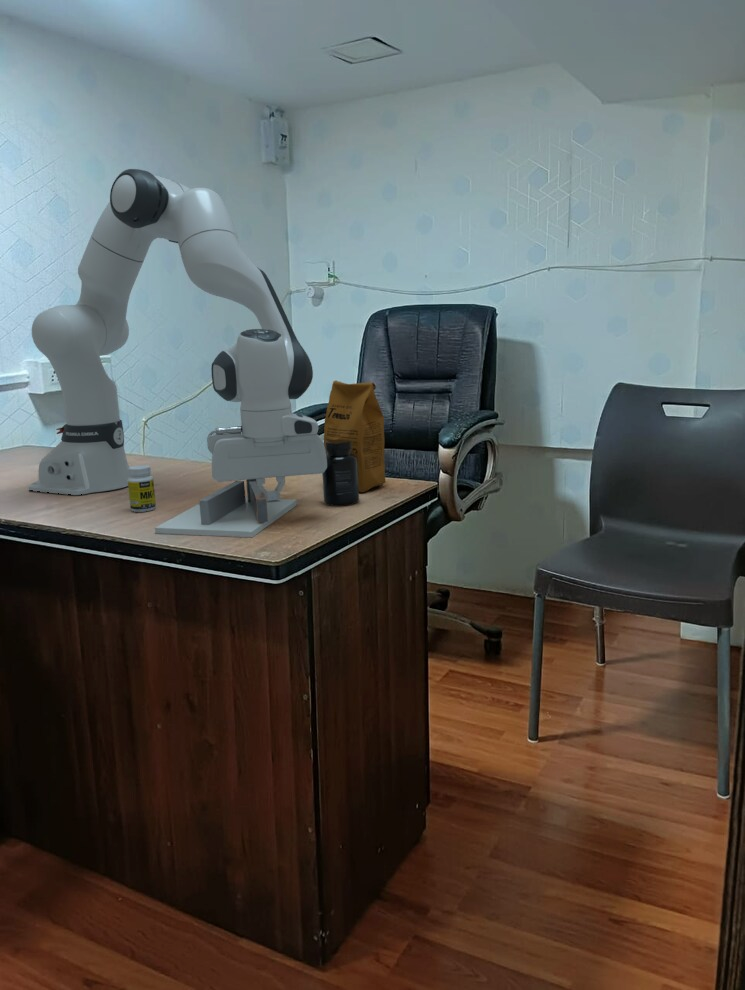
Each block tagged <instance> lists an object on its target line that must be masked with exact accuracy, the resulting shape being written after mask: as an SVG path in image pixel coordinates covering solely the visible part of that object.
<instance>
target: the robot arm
mask: <svg viewBox="0 0 745 990" xmlns="http://www.w3.org/2000/svg"><path fill="white" fill-rule="evenodd" d="M109 193H110V194H109V202H108V203H107V204H106V206H105V208H104V209H103V211H102V212H101V215H100V216H99V218H98V220H97V222H96V224H95V226H94V228H93V229H92V233H91V235H90V237H89V240H88V243H87V245H86V247H85V250H84V253H83V255H82V257H81V260H80V262H79V265H78V266H77V274H78V277H79V280H80V282H81V287H80V295H79V299H78V301H77V302H76V304H69V305H68V304H67V305H66V304H65V305H64V304H63V305H62V304H61V305H57V306H53V307H50V308H48V309H46V310H43V311H41V312H40V313H38V315H37V316H36V317H35V318H34V320H33V322H32V326H31V338H32V341H33V343H34V345H35V347H36V348H37V350H38V351H39V352H41V354H43V355H44V356H45V357H46V358H47V359H48V361H49V363H50V365H51V367H52V368H53V370H54V373H55V376H56V378H57V379H58V383H59V386H60V390H61V395H62V401H63V406H64V413H65V421H66V423H65V424H63V426H61V427H58V428H56V429H55V431H57V432H56V433H55V434H56V435H59V434H61V438H60V440H61V441H60V442H59V443H58V444H57V445H56V446H55V447H54V448H53V449H52V450H50V452H48V453H47V454H46V455H45V456H44V457H43V458H42V459H41V460H40V462H39V465H38V480H37V481H34V482H32V483H30V484H29V485H28V491H29V490H33V491H32V492H37V491H40V492H39V493H47V492H49V493H50V494H58V493H59V495H61V494H62V495H68V494H71V495H70V496H81V494H82V495H86V494H93V493H100V492H107V491H113V490H119V489H123V488H126V487H128V478H129V477H131V476H130V475H129V467H130V466H129V462H128V460H127V455H126V451H125V435H124V425H123V420H122V419H121V418H120V408H119V407H120V406H119V400H118V392H117V390H118V389H117V386H116V383H115V382H114V381H113V379H111V378H110V376H108V373H107V372H106V370H105V367H104V365H103V362H102V360H101V356H107V355H109V354H112V353H114V352H116V351H118V350H119V349H121V348H122V347H124V345H125V344H126V342H127V341H128V339H129V335H130V334H129V333H130V328H129V324H128V323H129V322H128V321H127V312H128V305H129V301H130V295H131V294H132V293H131V292H132V290H133V288H134V285H135V283H136V280H137V277H138V276H139V273H140V271H141V269H142V266H143V264H144V261H145V260H146V257H147V255H148V251H149V249H150V246H151V245H152V243H153V242H154V240H156V239H164V240H167V241H168V242H171V243H174V244H178V248H179V252H180V257H181V260H182V261H181V262H182V265H183V267H184V269H185V273H186V275H187V276H188V278H189V280H190V281H191V282H192V283H193V284H194V285H195V286H196V287H197V288H199V289H200V290H202V291H204V292H205V293H207V294H210V295H212V296H215V297H220V298H223V299H227V300H229V301H232V302H235V303H237V304H240V305H242V306H244V307H245V308H247V309H249V310H250V311H251V312H252V313H253V314H254V316H255V317H256V318H257V320H258V323H259V325H260V327H261V328H252V329H246V330H242V331H241V332H239V334H238V336H237V339H236V343H235V344H234V345H233V346H231V347H230V348H229V349H226V350H221V351H220V352H219V353H218V354H217V355H216V357H215V359H213V362H212V363H211V370H210V371H211V381H212V387H213V391H215V393H216V394H217V395H218V396H219V397H220V398H222V399H223V400H224V401H227V402H233V403H240V408H239V409H240V411H239V412H240V422H241V423H240V426H238V425H237V426H231V427H217V428H215V429H214V430H213V431H210V432H209V434H208V436H207V437H206V442H207V450H208V451H209V452H210V453H211V477H212V478H213V479H214V480H215V481H216V482H217V483H221V482H235V481H246V480H248V479H256V483H257V485H258V486H259V488H260V489H261V491H262V492H263V493H264V494H265V497H266V501H267V502H279V501H280V499H281V494H280V493H281V491H283V488H284V486H285V484H286V477H292V476H293V477H295V476H296V477H297V476H306V475H308V476H309V475H317V474H321V475H322V473H324V472H325V470H326V469H327V458H326V451H325V447H324V439H323V438H322V437H321V436H320V435H319V434H318V431H319V424H318V422H317V420H315V419H314V418H312V417H310V416H306V415H302V414H298V413H293V412H292V403H291V401H290V400H298V399H299V398H301V397H302V396H304V393H305V392H306V391H308V389H309V387H310V385H311V384H312V381H313V379H314V378H313V377H314V370H313V364H312V361H311V359H310V357H309V355H308V353H307V352H306V350H305V349H304V348H303V346H302V344H301V343H300V342H299V340H298V338H297V336H296V333H295V332H294V330H293V328H292V327H293V326H291V323H290V320H289V319H288V316H287V314H286V312H285V310H284V307H283V306H282V303H281V302H280V299H279V297H278V295H277V293H276V289H274V286H273V285H272V283H271V280H270V278H269V277H268V275H267V274H266V273H265V271H264V270H262V269H260V268H259V266H256V265H255V264H254V263H253V261H251V259H249V257H248V256H247V254H246V252H245V251H244V250H243V247H242V246H241V243H240V240H239V237H238V234H237V230H236V228H235V225H234V222H233V220H232V218H231V217H232V216H231V215H230V212H229V210H228V208H227V206H226V204H225V202H224V200H223V198H222V197H221V195H219V194H218V192H216V191H214V190H213V189H211V188H208V187H193V188H190V187H189V186H186V185H185V184H182V182H181V183H180V182H178V181H176V180H174V179H168V178H166V177H163V176H159V175H157V174H156V175H155V174H153V173H151V172H150V171H147V170H145V169H144V170H143V169H139V168H138V169H136V168H129V169H125V170H123V171H122V172H120V173H119V174H118V175H117V177H116V178H115V180H114V181H113V182H112V186H111V188H110V192H109ZM268 478H269V479H270V478H271V479H272V478H275V480H276V483H277V484H276V487H275V489H274V490H267V489H266V487H265V486H264V485H265V484H266V479H268ZM49 493H48V494H49Z"/></svg>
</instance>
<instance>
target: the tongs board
mask: <svg viewBox="0 0 745 990" xmlns="http://www.w3.org/2000/svg"><path fill="white" fill-rule="evenodd" d="M249 481H256V479H248V480H235V481H232V482H231V483H230V484H227V485H225V486H224V487H222V488H220V489H218V490H216V491H214V492H212V493H211V494H209V495H207V496H206V497H203V498H201V499H199V501H198V502H199V503H198V504H195V505H193V507H191V508H189V509H187V510H185V511H183V512H181V513H180V514H178V515H175V516H174V517H172V518H171V519H168V520H166V521H165V522H163V523H161V524H159V525H157V526H155V527H154V533H155V534H158V535H159V534H161V535H162V534H165V535H190V536H208V537H210V536H211V537H231V538H232V537H233V538H254V537H255V536H257V534H259V533H261V532H262V531H263V530H265V529H266V528H267V527H268V526H270V525H271V524H273V523H275V522H276V521H277V520H278V519H280V518H281V517H282V516H284V515H286V513H288V512H290V510H292V509H293V508H295V507H297V506H298V500H297V499H289V498H285V499H284V498H280V501H279V502H267V515H268V521H267V522H258V521H257V518H256V515H255V512H254V510H253V507H252V504H251V501H250V488H249ZM245 482H246V490H245ZM246 491H247V492H246ZM246 495H247V497H246Z"/></svg>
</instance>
